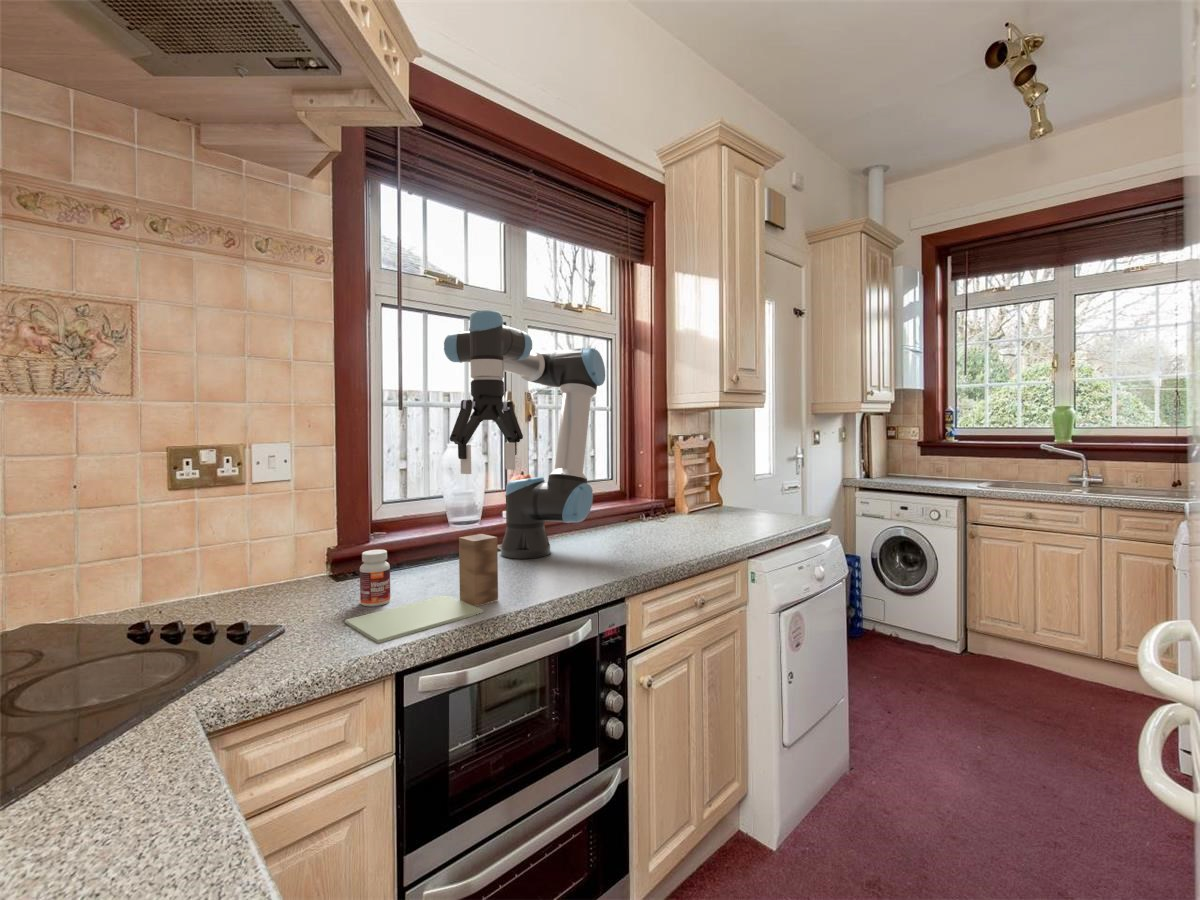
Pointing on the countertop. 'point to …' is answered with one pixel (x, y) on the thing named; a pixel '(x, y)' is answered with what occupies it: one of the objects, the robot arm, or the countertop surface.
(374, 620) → the board
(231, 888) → the countertop surface
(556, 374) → the robot arm
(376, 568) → the pill bottle
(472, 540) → the walnut block
